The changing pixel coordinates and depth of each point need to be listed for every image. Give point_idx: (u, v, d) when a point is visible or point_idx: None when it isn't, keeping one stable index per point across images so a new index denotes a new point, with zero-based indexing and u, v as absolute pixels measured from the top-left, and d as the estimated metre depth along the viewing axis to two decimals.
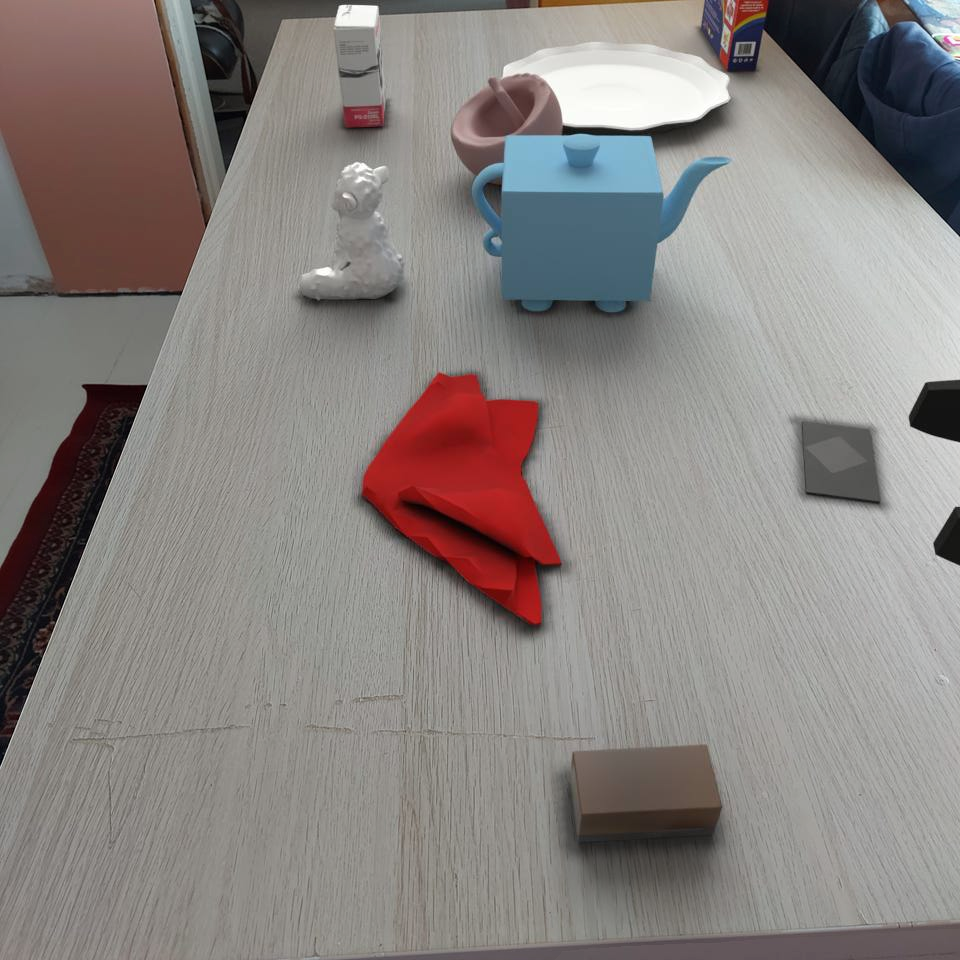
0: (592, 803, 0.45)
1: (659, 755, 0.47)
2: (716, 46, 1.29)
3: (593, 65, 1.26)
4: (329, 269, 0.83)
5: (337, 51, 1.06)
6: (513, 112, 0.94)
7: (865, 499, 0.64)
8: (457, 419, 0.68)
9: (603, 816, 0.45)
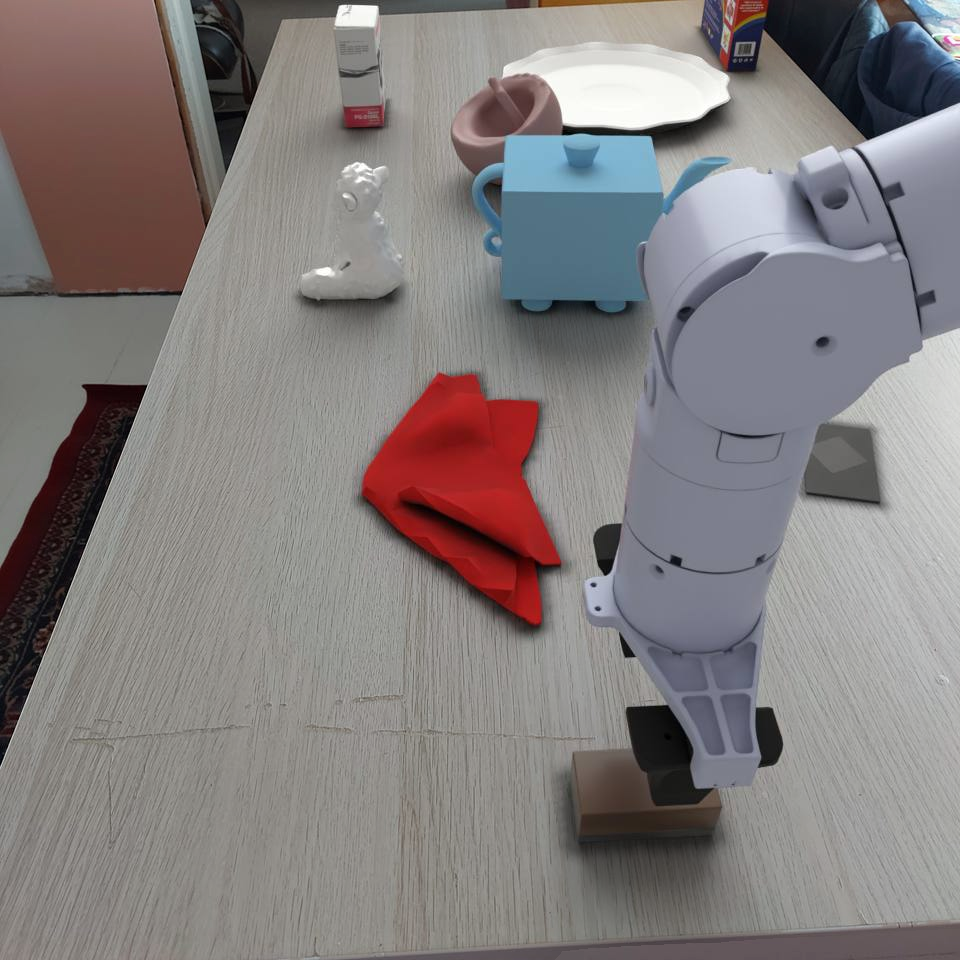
0: (592, 803, 0.45)
1: None
2: (716, 46, 1.29)
3: (593, 65, 1.26)
4: (329, 269, 0.83)
5: (337, 51, 1.06)
6: (513, 112, 0.94)
7: (865, 499, 0.64)
8: (457, 419, 0.68)
9: (603, 816, 0.45)
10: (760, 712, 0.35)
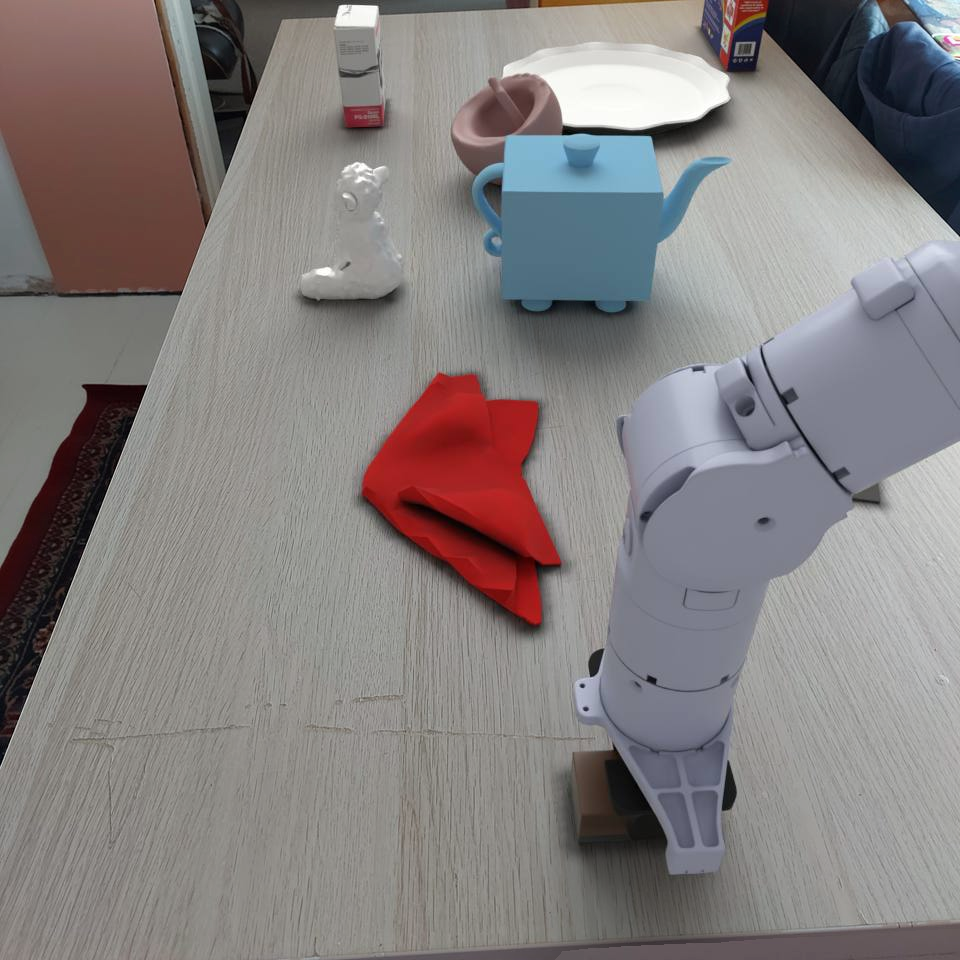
0: (592, 803, 0.45)
1: None
2: (716, 46, 1.29)
3: (593, 65, 1.26)
4: (329, 269, 0.83)
5: (337, 51, 1.06)
6: (513, 112, 0.94)
7: (865, 499, 0.64)
8: (457, 419, 0.68)
9: (603, 817, 0.45)
10: None
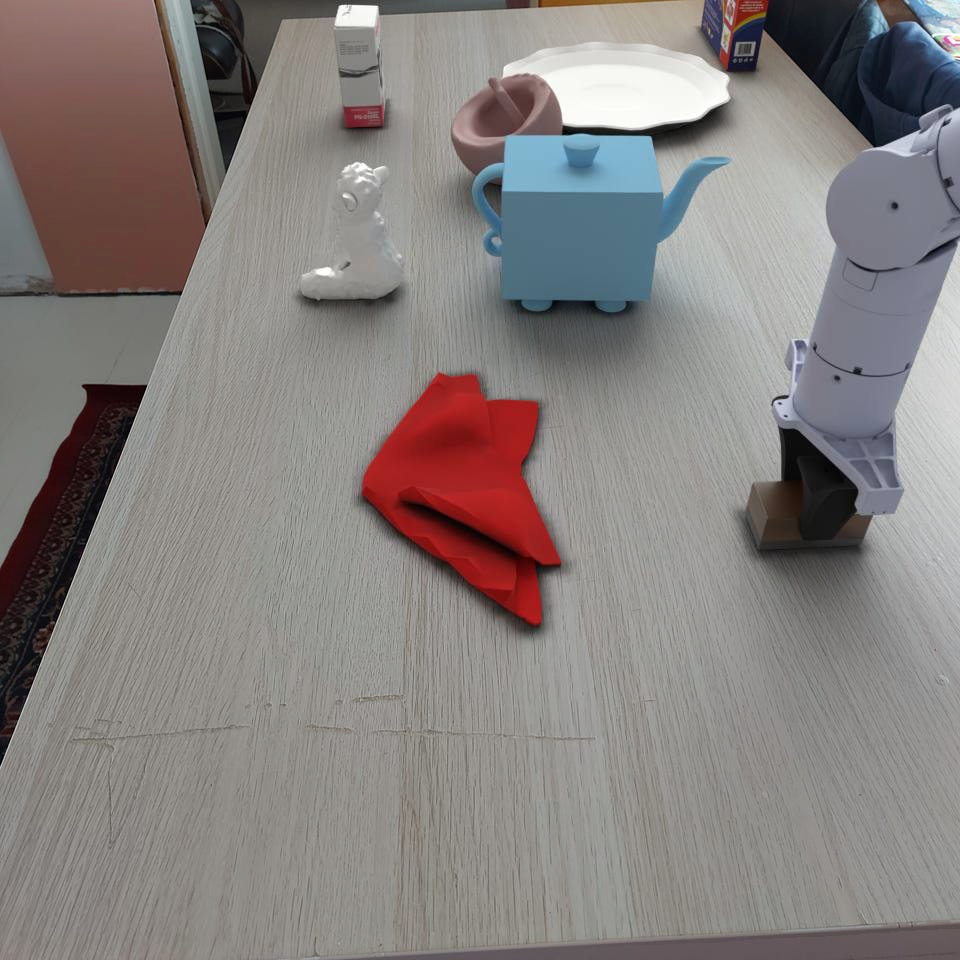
0: (774, 512, 0.59)
1: None
2: (716, 46, 1.29)
3: (593, 65, 1.26)
4: (329, 269, 0.83)
5: (337, 51, 1.06)
6: (513, 112, 0.94)
7: None
8: (457, 419, 0.68)
9: (783, 521, 0.59)
10: None
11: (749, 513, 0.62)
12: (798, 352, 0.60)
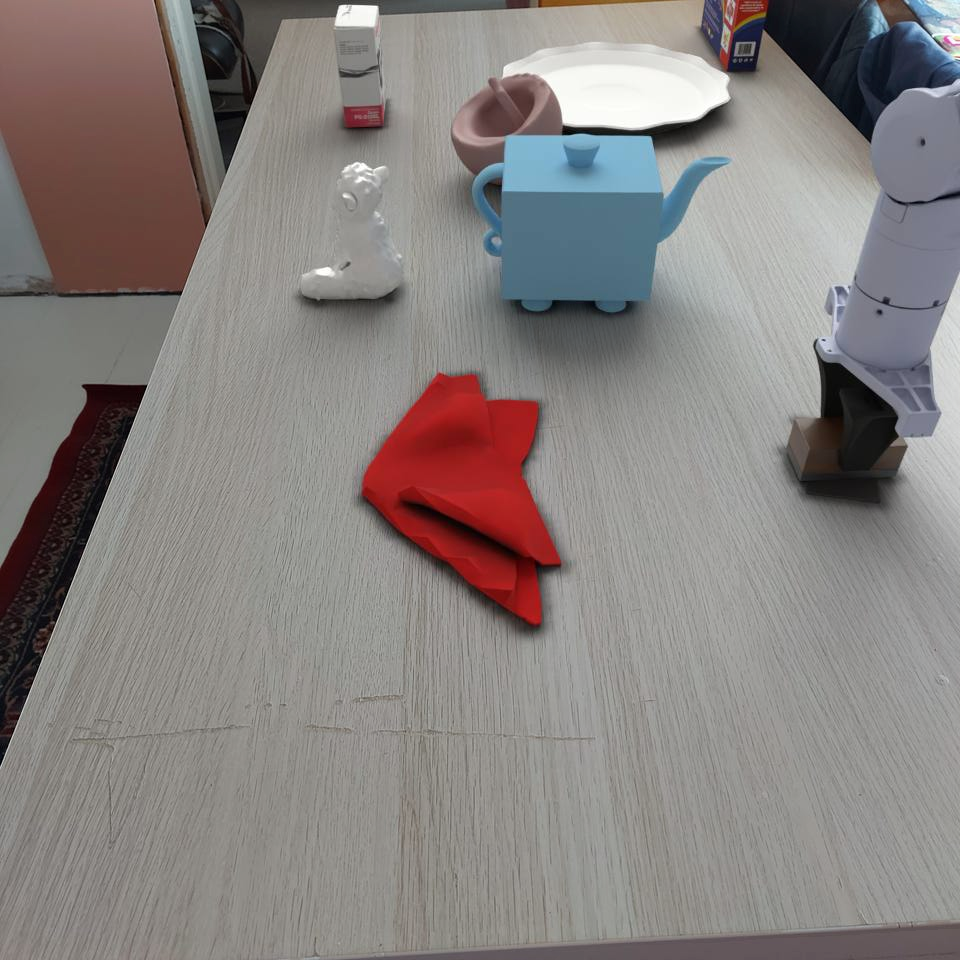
0: (815, 444, 0.64)
1: None
2: (716, 46, 1.29)
3: (593, 65, 1.26)
4: (329, 269, 0.83)
5: (337, 51, 1.06)
6: (513, 112, 0.94)
7: (865, 499, 0.64)
8: (457, 419, 0.68)
9: (824, 452, 0.64)
10: None
11: (790, 448, 0.67)
12: (838, 297, 0.64)
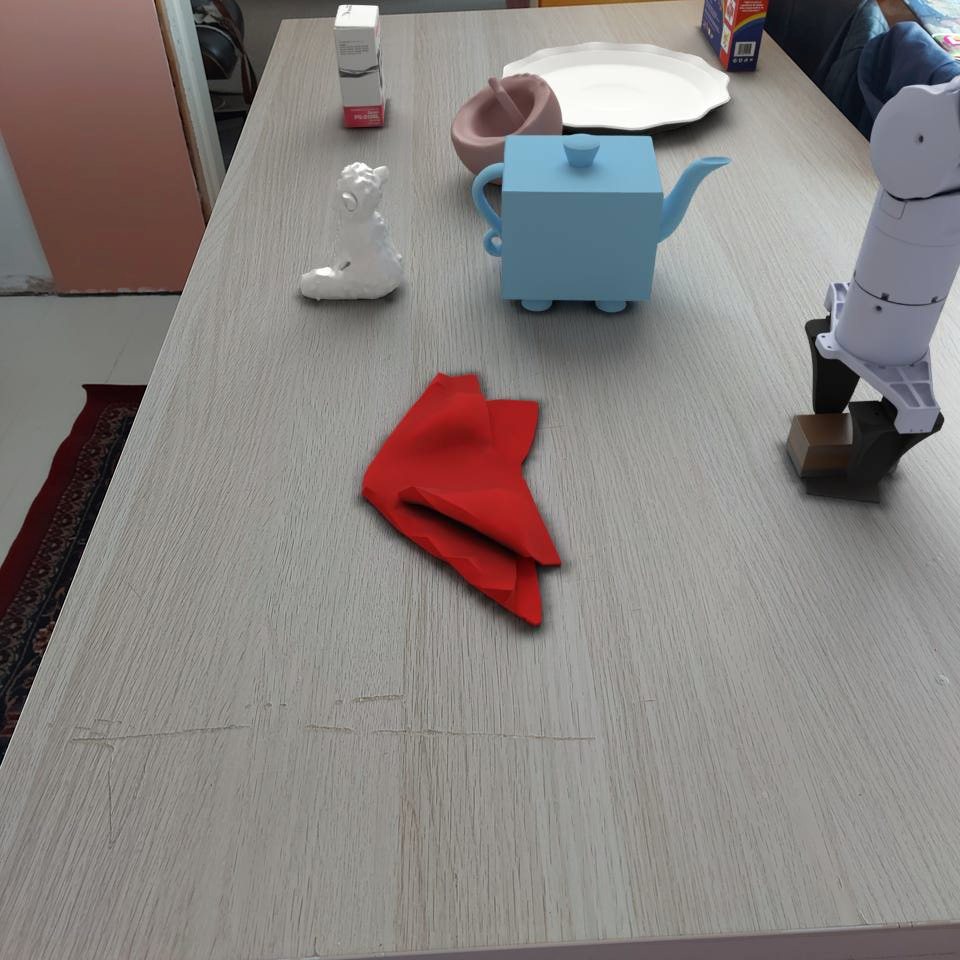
0: (815, 440, 0.64)
1: None
2: (716, 46, 1.29)
3: (593, 65, 1.26)
4: (329, 269, 0.83)
5: (337, 51, 1.06)
6: (513, 112, 0.94)
7: (865, 499, 0.64)
8: (457, 419, 0.68)
9: (823, 448, 0.64)
10: None
11: (790, 445, 0.67)
12: (837, 294, 0.65)
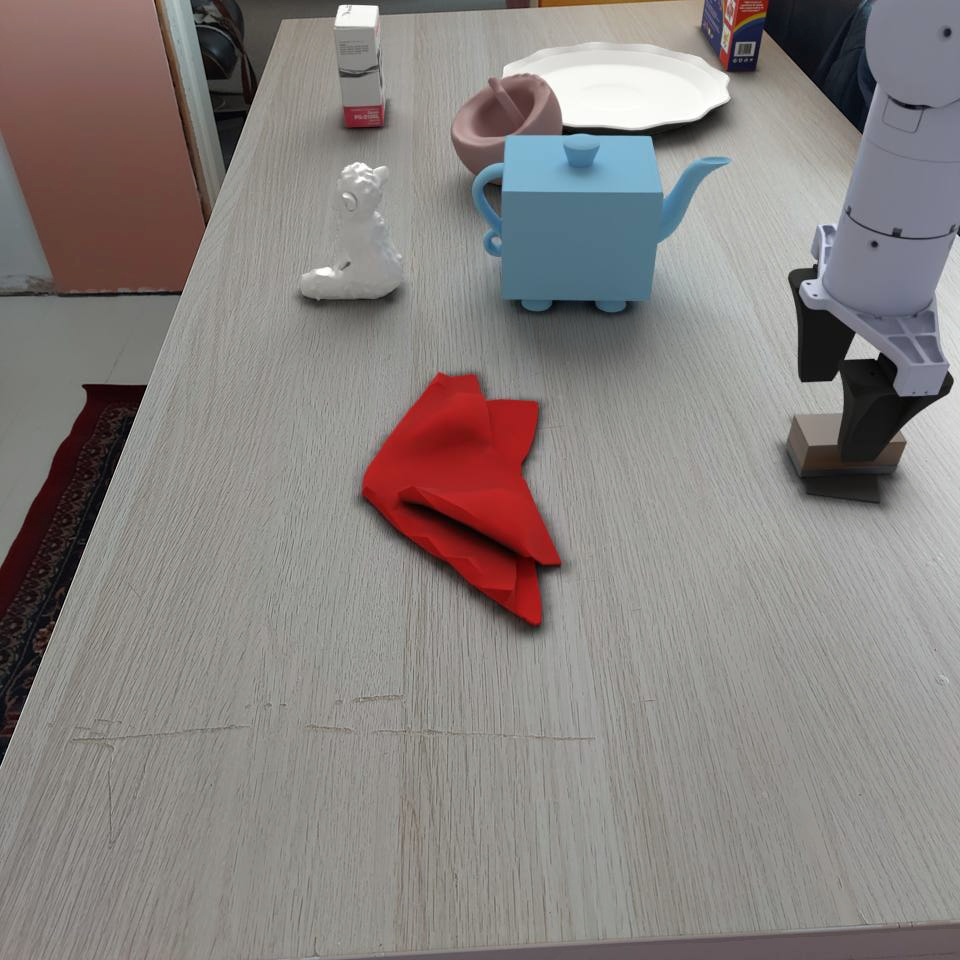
0: (815, 440, 0.64)
1: None
2: (716, 46, 1.29)
3: (593, 65, 1.26)
4: (329, 269, 0.83)
5: (337, 51, 1.06)
6: (513, 112, 0.94)
7: (865, 499, 0.64)
8: (457, 419, 0.68)
9: (823, 448, 0.64)
10: None
11: (790, 445, 0.67)
12: (826, 238, 0.55)
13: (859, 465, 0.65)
